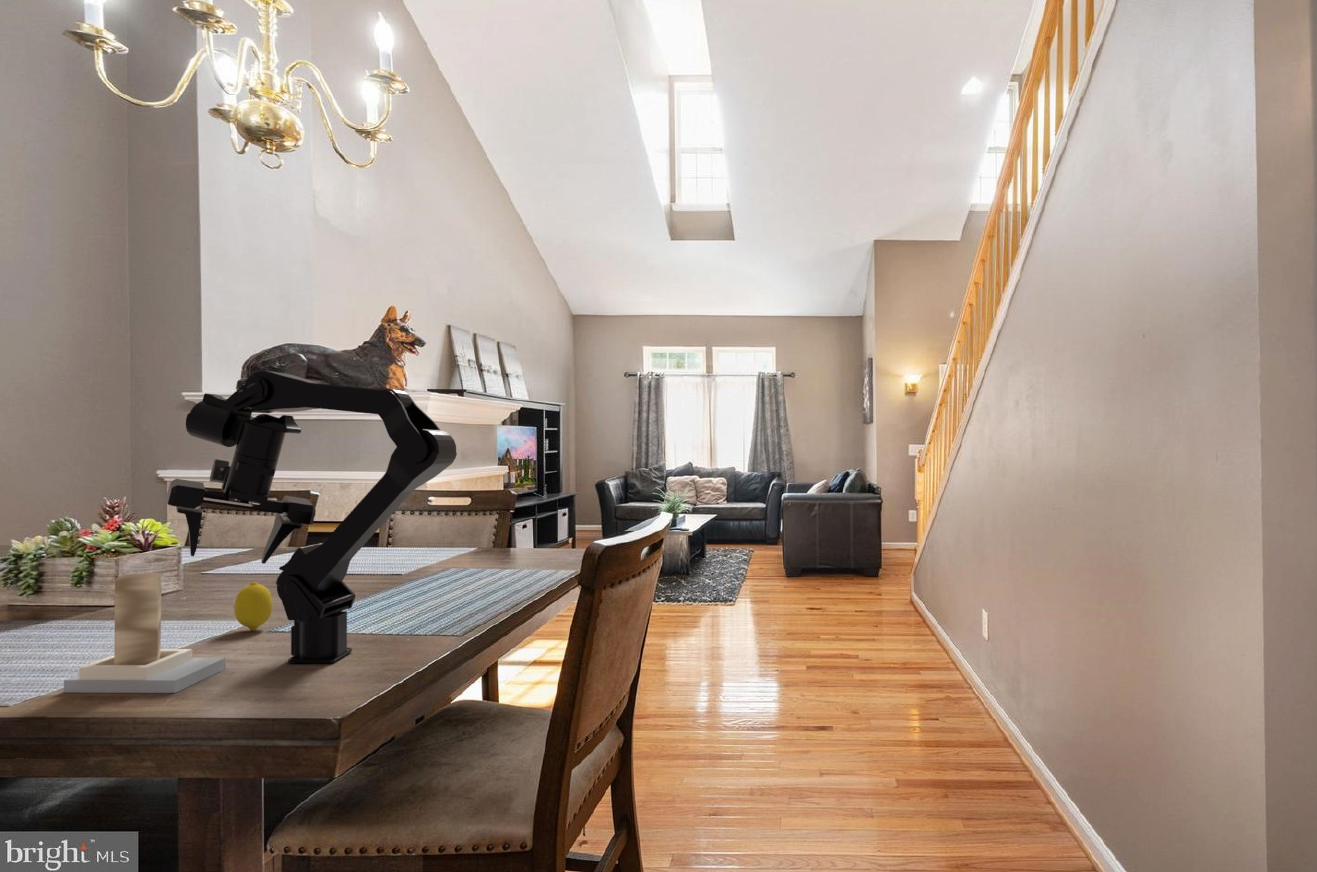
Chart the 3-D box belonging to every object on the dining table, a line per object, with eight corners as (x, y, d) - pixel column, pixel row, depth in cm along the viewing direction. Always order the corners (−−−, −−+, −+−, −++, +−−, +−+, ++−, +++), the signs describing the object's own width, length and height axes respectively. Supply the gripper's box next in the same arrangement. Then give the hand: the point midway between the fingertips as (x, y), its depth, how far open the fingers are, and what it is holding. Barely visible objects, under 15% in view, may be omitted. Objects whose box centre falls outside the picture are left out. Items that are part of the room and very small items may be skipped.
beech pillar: (160, 662, 99) (161, 572, 99) (157, 671, 95) (158, 577, 96) (119, 667, 97) (119, 575, 97) (114, 676, 93) (115, 580, 93)
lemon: (230, 630, 123) (230, 581, 123) (267, 625, 127) (267, 577, 127) (239, 636, 119) (239, 586, 119) (276, 630, 123) (276, 582, 123)
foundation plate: (225, 668, 101) (225, 646, 101) (175, 692, 91) (175, 668, 91) (124, 668, 102) (124, 646, 102) (63, 692, 92) (64, 667, 92)
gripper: (313, 458, 121) (288, 551, 121) (180, 433, 110) (151, 535, 110) (327, 471, 111) (300, 572, 112) (183, 446, 101) (153, 557, 101)
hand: (228, 559), depth 109 cm, fingers open, 9 cm apart
